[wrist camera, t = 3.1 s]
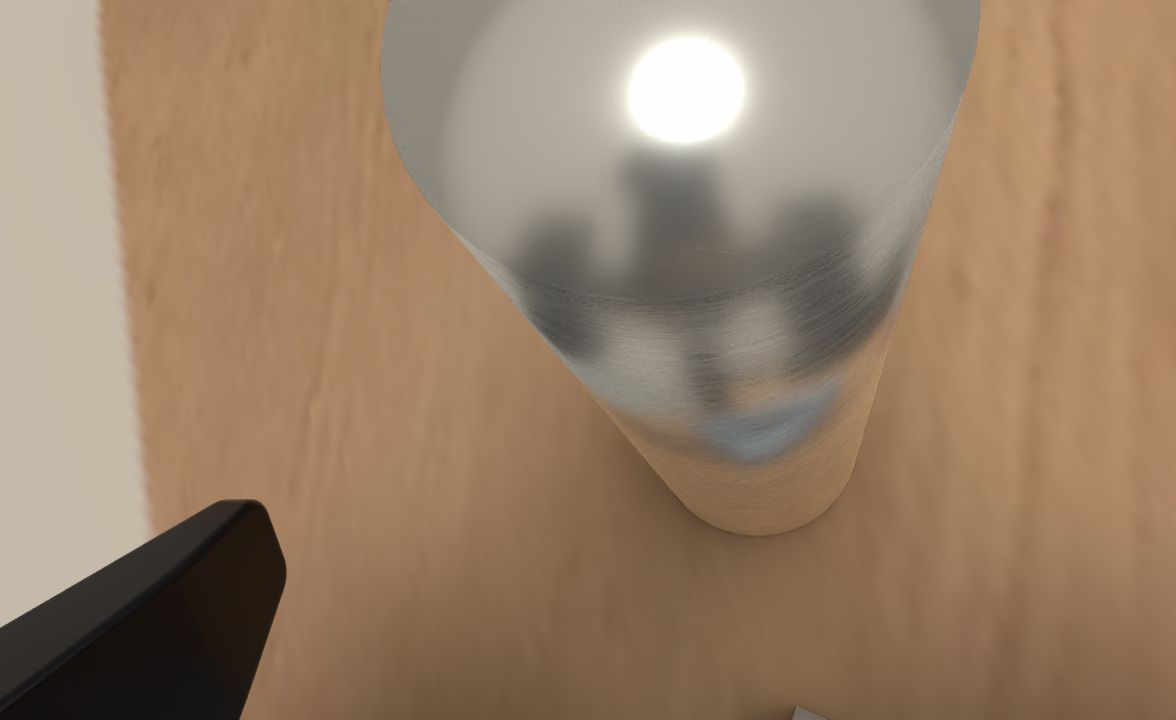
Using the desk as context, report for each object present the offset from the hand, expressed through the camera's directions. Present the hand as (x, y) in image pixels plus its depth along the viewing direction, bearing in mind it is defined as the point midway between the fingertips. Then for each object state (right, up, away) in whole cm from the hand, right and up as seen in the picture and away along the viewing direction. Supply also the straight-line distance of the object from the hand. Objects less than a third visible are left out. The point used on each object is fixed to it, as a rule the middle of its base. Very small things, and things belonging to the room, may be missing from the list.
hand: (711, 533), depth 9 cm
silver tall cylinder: (+2, 0, +11) cm, 11 cm away
